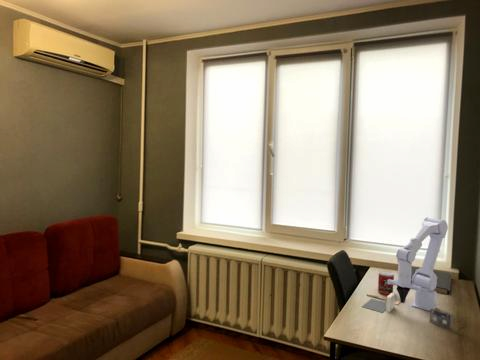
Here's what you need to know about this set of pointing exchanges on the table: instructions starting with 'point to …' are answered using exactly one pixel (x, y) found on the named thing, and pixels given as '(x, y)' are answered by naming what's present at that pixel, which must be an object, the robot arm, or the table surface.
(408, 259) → the robot arm
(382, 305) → the mat
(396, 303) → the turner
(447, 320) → the mini dv tape
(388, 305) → the tile
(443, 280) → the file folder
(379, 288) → the canned food
